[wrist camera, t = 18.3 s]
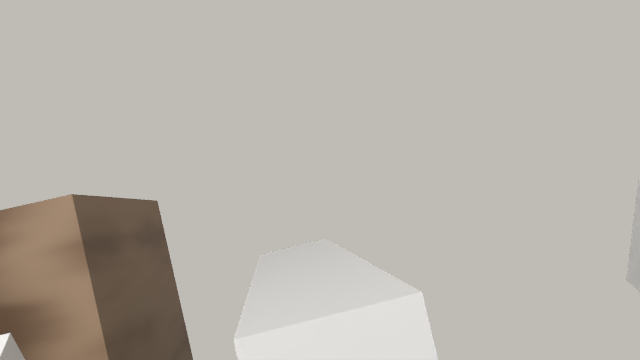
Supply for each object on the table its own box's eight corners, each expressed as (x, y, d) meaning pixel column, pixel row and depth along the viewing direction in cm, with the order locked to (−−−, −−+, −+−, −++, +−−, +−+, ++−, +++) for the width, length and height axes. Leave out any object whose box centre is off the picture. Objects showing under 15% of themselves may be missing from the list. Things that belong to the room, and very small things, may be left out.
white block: (273, 513, 13) (233, 339, 13) (273, 313, 38) (260, 254, 38) (462, 460, 13) (421, 291, 13) (339, 297, 38) (325, 238, 38)
